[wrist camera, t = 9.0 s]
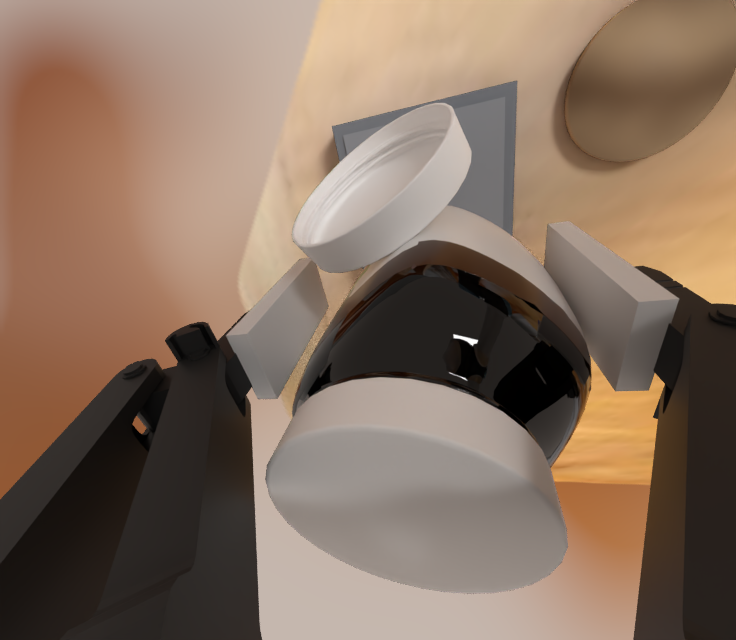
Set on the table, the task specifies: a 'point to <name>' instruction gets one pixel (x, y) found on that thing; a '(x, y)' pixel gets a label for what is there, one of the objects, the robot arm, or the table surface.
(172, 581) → the robot arm
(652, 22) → the oak coaster
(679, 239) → the table surface
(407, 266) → the spread jar
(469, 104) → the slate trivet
